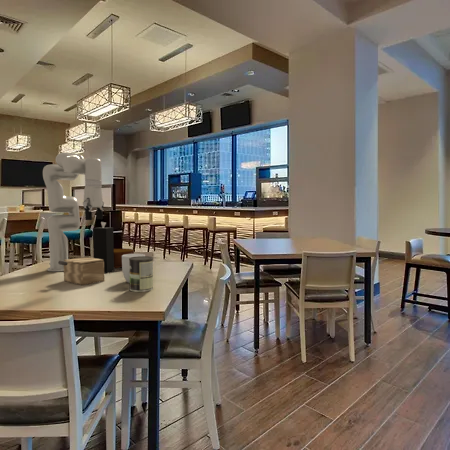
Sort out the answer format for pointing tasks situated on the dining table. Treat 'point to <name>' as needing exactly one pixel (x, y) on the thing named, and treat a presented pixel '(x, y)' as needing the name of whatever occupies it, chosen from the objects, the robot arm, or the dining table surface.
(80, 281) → the carton
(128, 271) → the mug
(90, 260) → the flap
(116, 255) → the brown block
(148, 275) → the coffee can
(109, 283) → the dining table surface
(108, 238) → the tissue box
